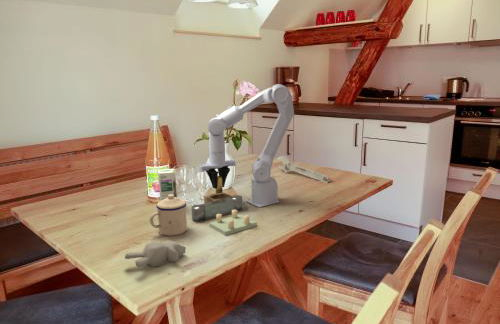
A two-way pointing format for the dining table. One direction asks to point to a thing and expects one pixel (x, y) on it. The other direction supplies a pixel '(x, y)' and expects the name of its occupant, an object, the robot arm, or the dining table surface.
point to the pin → (219, 185)
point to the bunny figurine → (157, 253)
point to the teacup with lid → (171, 216)
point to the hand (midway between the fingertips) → (218, 187)
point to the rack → (232, 223)
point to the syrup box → (167, 183)
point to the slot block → (215, 197)
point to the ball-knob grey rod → (216, 208)
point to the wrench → (300, 170)
